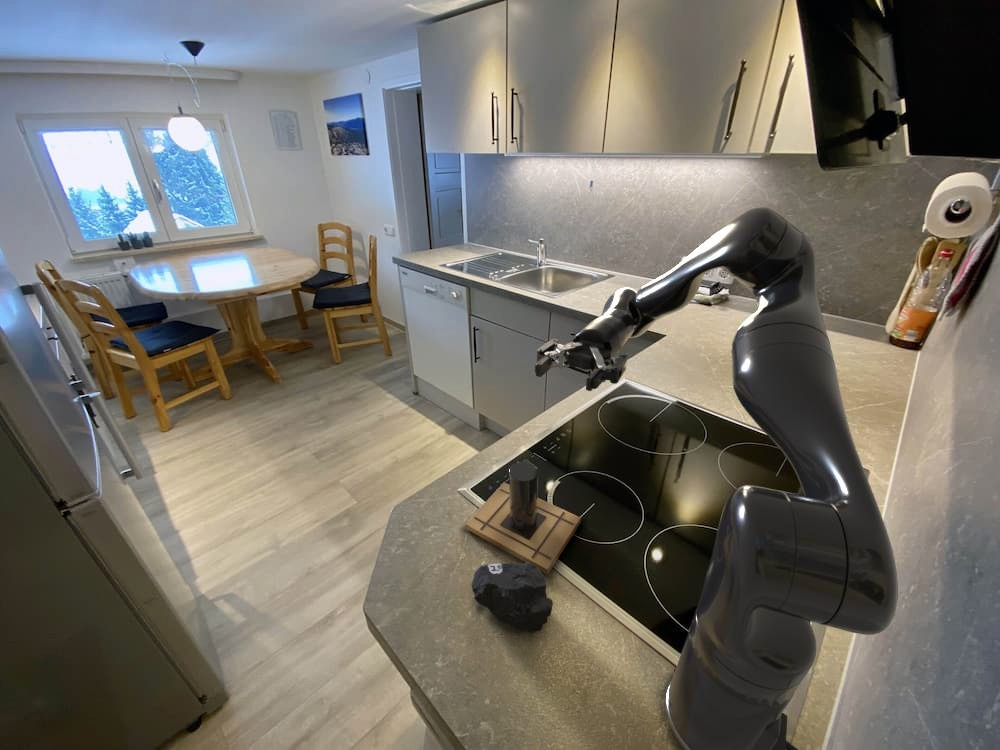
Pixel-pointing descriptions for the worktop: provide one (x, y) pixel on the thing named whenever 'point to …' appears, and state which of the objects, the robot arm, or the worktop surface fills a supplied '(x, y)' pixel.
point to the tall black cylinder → (523, 495)
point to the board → (526, 545)
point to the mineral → (513, 594)
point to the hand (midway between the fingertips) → (562, 378)
